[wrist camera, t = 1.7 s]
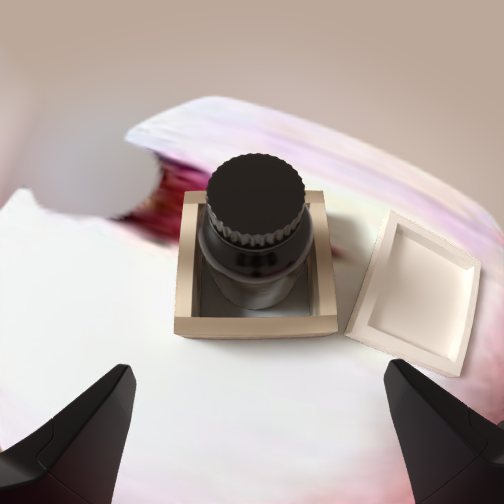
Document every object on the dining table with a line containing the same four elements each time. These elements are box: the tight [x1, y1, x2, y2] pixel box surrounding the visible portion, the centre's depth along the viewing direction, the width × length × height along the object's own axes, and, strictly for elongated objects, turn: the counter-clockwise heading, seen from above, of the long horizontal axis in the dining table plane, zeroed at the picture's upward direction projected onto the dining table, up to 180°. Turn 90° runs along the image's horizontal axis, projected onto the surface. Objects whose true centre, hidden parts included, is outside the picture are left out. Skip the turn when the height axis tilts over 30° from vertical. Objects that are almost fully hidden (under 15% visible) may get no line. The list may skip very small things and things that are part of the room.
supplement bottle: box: [198, 153, 313, 309], centre depth 19 cm, size 7×7×12 cm
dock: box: [344, 210, 481, 377], centre depth 22 cm, size 12×12×2 cm
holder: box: [174, 190, 338, 339], centre depth 23 cm, size 11×11×4 cm
